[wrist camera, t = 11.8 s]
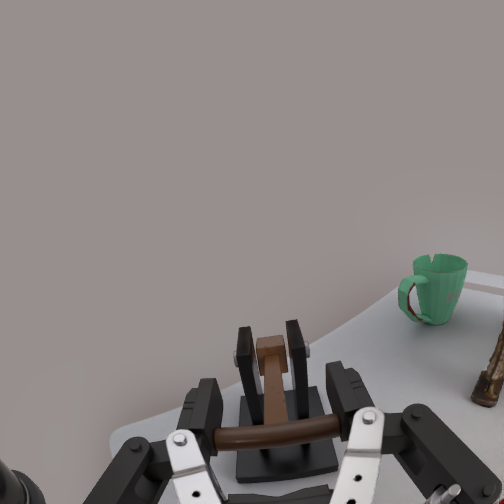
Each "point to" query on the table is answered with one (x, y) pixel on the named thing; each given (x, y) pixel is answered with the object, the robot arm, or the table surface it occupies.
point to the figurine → (491, 377)
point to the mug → (433, 287)
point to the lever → (275, 410)
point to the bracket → (298, 407)
